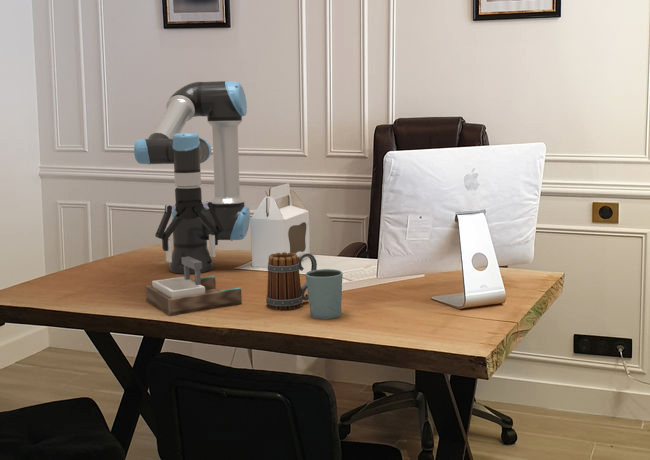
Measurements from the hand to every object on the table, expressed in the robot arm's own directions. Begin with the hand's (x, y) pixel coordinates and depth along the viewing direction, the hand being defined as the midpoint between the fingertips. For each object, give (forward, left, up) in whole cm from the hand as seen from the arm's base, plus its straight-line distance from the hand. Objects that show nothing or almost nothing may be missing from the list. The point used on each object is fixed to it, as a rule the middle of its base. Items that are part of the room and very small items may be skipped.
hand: (191, 259), depth 246 cm
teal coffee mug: (-25, +34, -13) cm, 44 cm away
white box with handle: (+4, 0, -12) cm, 13 cm away
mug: (-23, +19, -13) cm, 33 cm away
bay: (0, 0, -13) cm, 13 cm away
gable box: (-49, -37, -14) cm, 63 cm away
